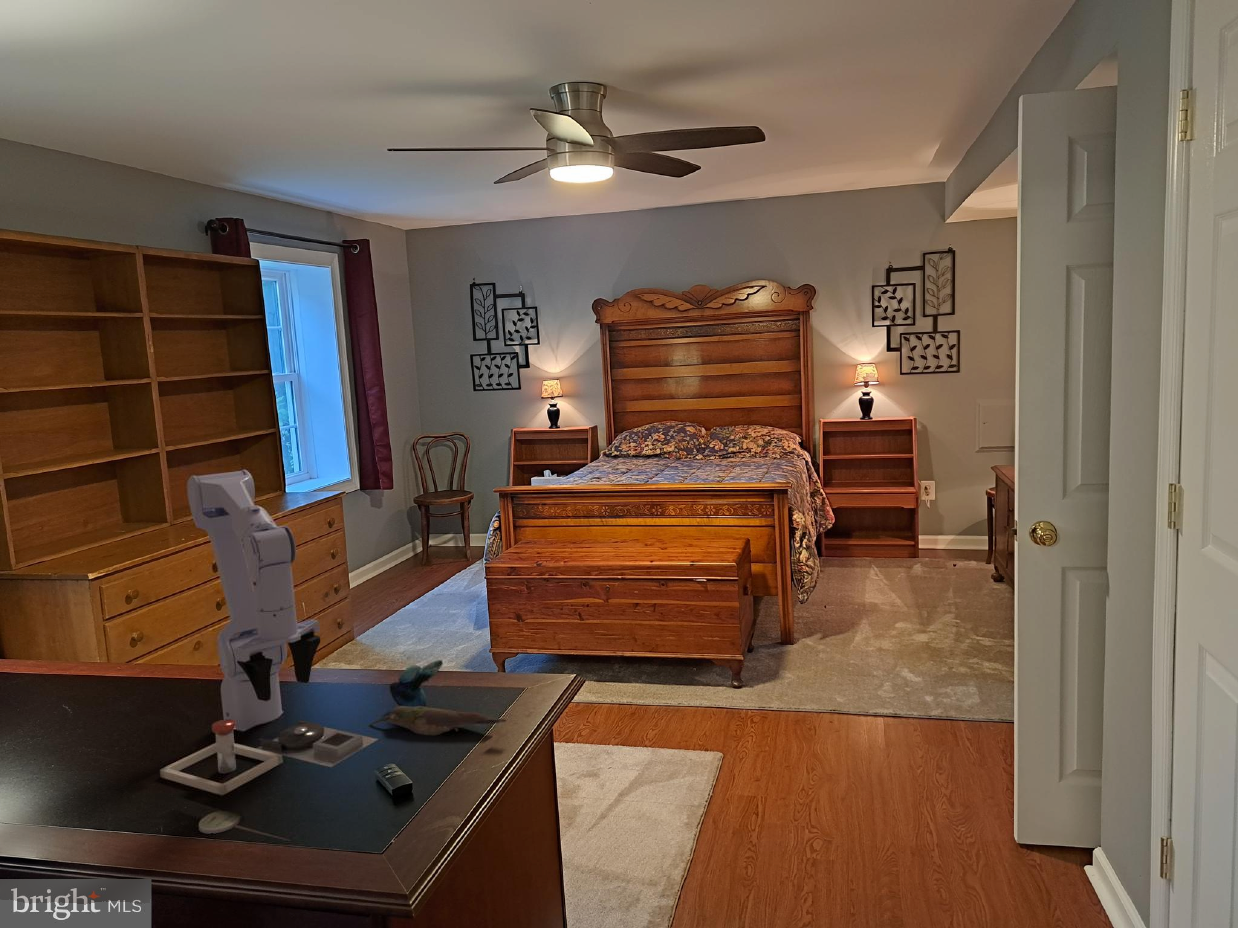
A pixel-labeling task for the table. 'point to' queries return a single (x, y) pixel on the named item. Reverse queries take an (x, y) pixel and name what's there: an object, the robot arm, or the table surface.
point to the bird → (434, 719)
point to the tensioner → (316, 743)
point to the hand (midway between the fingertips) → (284, 690)
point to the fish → (413, 684)
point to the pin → (225, 744)
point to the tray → (214, 787)
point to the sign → (225, 823)
